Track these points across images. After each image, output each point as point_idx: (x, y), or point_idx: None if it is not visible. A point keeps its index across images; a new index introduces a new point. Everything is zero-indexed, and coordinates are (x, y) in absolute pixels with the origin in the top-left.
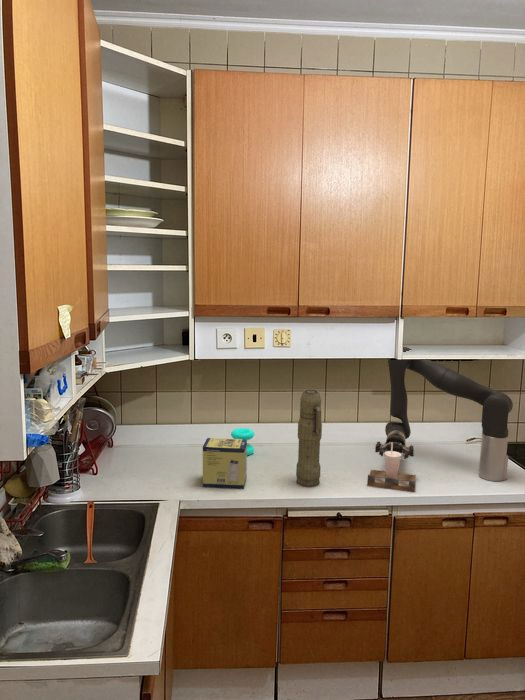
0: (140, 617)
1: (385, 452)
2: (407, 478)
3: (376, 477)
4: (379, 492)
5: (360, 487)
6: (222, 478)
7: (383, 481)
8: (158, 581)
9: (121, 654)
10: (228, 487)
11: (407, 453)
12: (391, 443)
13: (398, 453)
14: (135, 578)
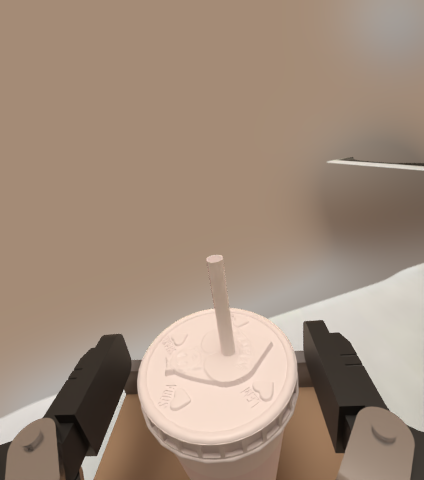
0: (357, 162)
1: (289, 363)
2: None
3: (303, 353)
4: None
5: (361, 361)
6: None
7: None
8: (385, 166)
9: (339, 159)
10: None
11: (80, 371)
12: (221, 262)
13: (161, 390)
14: (403, 163)
